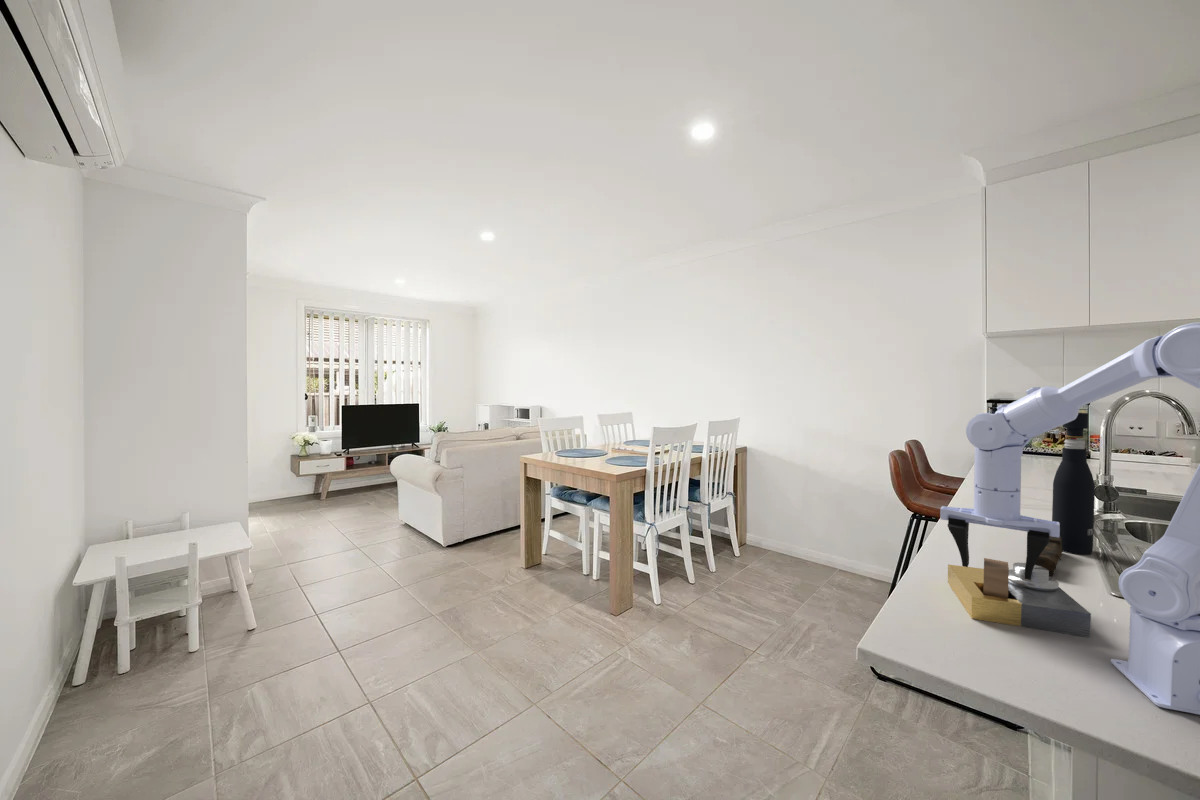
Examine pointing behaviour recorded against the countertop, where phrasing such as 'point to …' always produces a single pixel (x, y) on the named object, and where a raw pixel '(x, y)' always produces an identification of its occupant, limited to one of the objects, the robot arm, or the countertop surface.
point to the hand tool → (1051, 555)
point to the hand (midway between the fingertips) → (995, 571)
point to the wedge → (996, 578)
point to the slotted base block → (1021, 600)
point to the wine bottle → (1074, 492)
